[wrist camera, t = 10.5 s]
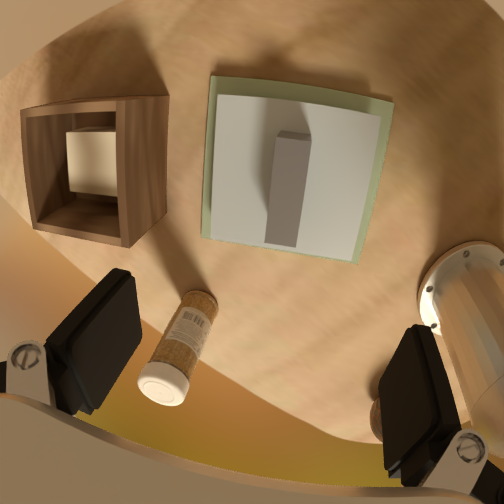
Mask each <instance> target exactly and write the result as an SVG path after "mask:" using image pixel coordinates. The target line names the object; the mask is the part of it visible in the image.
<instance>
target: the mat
mask: <svg viewBox="0 0 504 504" xmlns="http://www.w3.org/2000/svg"><path fill="white" fill-rule="evenodd" d="M218 94H226V95H241V96H254V97H265V98H274V99H283V100H292V101H299V102H306V103H313V104H320V105H326V106H332V107H338V108H343V109H349V110H354V111H359V112H364V113H369V114H373V115H378V116H381V122H380V128H379V134H378V140H377V146H376V151H375V157H374V162H373V167H372V173H371V178H370V183H369V187H368V192H367V197H366V201H365V206H364V210H363V215H362V219H361V223H360V228H359V232H358V236H357V240H356V244H355V248H354V252H353V256H352V260H351V261H348V260H342V259H336V258H330V257H323V256H317V255H311V254H304V253H298V252H292V251H285V250H279V249H272V248H266V247H259V246H253V245H247V244H241V245H247V246H253V247H259V248H265V249H271V250H277V251H283V252H289V253H295V254H300V255H306V256H312V257H318V258H324V259H330V260H335V261H341V262H347V263H353V264H358V262H359V259H360V255H361V252H362V248H363V245H364V241H365V237H366V234H367V230H368V226H369V222H370V218H371V214H372V211H373V206H374V202H375V198H376V194H377V190H378V186H379V181H380V177H381V172H382V168H383V163H384V158H385V153H386V148H387V143H388V138H389V132H390V127H391V121H392V116H393V110H394V103H392V102H388V101H384V100H380V99H376V98H372V97H367V96H363V95H358V94H354V93H349V92H344V91H339V90H334V89H328V88H322V87H316V86H310V85H304V84H297V83H289V82H282V81H273V80H264V79H253V78H241V77H226V76H211V82H210V93H209V105H208V118H207V132H206V147H205V163H204V182H203V204H202V230H201V238H206V239H210V235H211V205H212V182H213V161H214V143H215V126H216V111H217V97H218ZM211 240H214V239H211ZM217 241H221V240H217ZM223 242H227V241H223ZM229 243H234V242H229ZM235 244H240V243H235Z"/></svg>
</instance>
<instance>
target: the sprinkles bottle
mask: <svg viewBox="0 0 504 504" xmlns="http://www.w3.org/2000/svg"><path fill="white" fill-rule="evenodd" d="M217 314H218V305H217V303H216V301H215V299H214V298H213V297H212V296H210V295H209V294H207V293H205V292H202V291H198V290H194V291H190V292H187V293H186V294H185V295H184V296H183V298H182V301H181V303H180V305H179V307H178V309H177V311H176V312H175V313H174V315H173V317H172V318H171V320H170V322H169V324H168V326H167V327H166V329H165V332H164V334H163V336H162V338H161V340H160V342H159V344H158V345H157V347H156V349H155V352H154V353H153V355H152V357H151V359H150V361H149V362H148V363H147V364H146V365H145V366H144V367H143V370H142V372H141V373H140V376H139V378H138V386H139V388H140V390H141V391H142V392H143V393H144V394H145V395H146V396H147V397H148V398H150V399H151V400H153V401H155V402H157V403H159V404H162V405H167V406H176V405H179V404H181V403H182V402H183V400H184V398H185V396H186V394H187V391H188V389H189V383H190V378H191V376H192V373H193V371H194V368H195V366H196V365H197V362H198V360H199V357H200V355H201V352H202V350H203V347H204V345H205V342H206V340H207V337H208V335H209V332H210V330H211V326H212V324H213V321H214V319H215V317H216V316H217Z"/></svg>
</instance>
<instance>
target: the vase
mask: <svg viewBox="0 0 504 504" xmlns="http://www.w3.org/2000/svg"><path fill="white" fill-rule="evenodd" d="M370 425H371V429H372V431H373V433H374V435H375V436H376V437H377V438H378V439H379V440H380V441H381V442H382V443H383V436H382V423H381V411H380V400H379V397H378V398H377V399H376V400H375V401H374V403H373V405H372V407H371V411H370Z"/></svg>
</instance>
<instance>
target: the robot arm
mask: <svg viewBox="0 0 504 504" xmlns="http://www.w3.org/2000/svg"><path fill="white" fill-rule="evenodd" d="M417 305H418V312H419V314H420V317H421V320H422V322H423V323H424V325H418V324H414V325H413V326H412V327H411V328H407V330H406V331H405V333H404V335H403V337H402V339H401V341H400V343H399V345H398V347H397V349H396V351H395V353H394V355H393V357H392V359H391V361H390V363H389V364H388V366H387V368H386V370H385V372H384V374H383V375H382V377H381V379H380V382H379V387H378V390H379V400H380V411H381V423H382V436H383V453H384V468H385V470H388V473H389V478H401V484H402V486H401V487H357V486H337V485H336V486H335V485H323V484H312V483H303V482H294V481H287V480H280V479H273V478H267V477H262V476H256V475H250V474H245V473H240V472H235V471H231V470H226V469H222V468H218V467H214V466H210V465H206V464H202V463H198V462H194V461H191V460H187V459H184V458H181V457H177V456H174V455H171V454H167V453H164V452H161V451H158V450H155V449H152V448H149V447H146V446H143V445H141V444H138V443H135V442H133V441H130V440H127V439H125V438H122V437H120V436H117V435H115V434H112V433H110V432H107V431H105V430H103V429H100V428H98V427H96V426H93V425H91V424H88V423H86V422H84V421H82V420H80V419H77V418H76V417H75V414H76V413H77V411H78V410H80V411H82V412H85V413H86V414H89V415H91V414H92V412H93V411H94V409H98V408H99V407H100V406H101V405H102V403H103V401H104V400H105V398H106V396H107V395H108V393H109V391H110V390H111V388H112V387H113V385H114V383H115V382H116V380H117V378H118V377H119V375H120V374H121V372H122V370H123V369H124V367H125V366H126V364H127V362H128V361H129V359H130V357H131V356H132V355H133V353H134V351H135V349H136V348H137V346H138V345H139V344H140V342H141V339H142V328H141V322H140V315H139V307H138V300H137V292H136V283H135V278H134V277H133V276H131V273H130V272H129V271H126V270H122V269H118V268H114V269H112V270H111V271H110V272H109V273H108V274H107V275H106V276H105V277H104V278H103V279H102V280H101V281H100V282H99V283H98V284H97V285H96V286H95V287H94V288H93V289H92V290H91V292H90V293H89V294H88V295H87V296H86V297H85V298H84V299H83V300H82V301H81V302H80V303H79V304H78V305H77V306H76V307H75V309H73V310H72V312H71V313H70V314H69V315H68V316H67V317H66V318H65V319H64V320H63V321H62V323H61V324H60V325H59V326H58V327H57V328H56V329H55V330H54V331H53V332H52V334H51V335H50V336H49V337H48V338H47V339H46V343H45V344H44V345H43V346H42V344H40V343H39V342H37V341H33V340H30V341H23V342H20V343H19V344H17V345H15V346H14V347H13V348H12V349H11V351H10V352H9V354H8V357H7V361H4V362H0V504H504V473H503V472H502V471H501V470H500V469H499V468H497V467H496V466H495V465H494V464H492V463H491V462H490V461H489V460H487V458H488V454H489V453H491V454H493V455H495V456H498V457H500V458H503V459H504V253H503V252H502V251H501V250H500V249H499V248H498V247H497V246H495V245H493V244H492V243H489V242H485V241H471V242H466V243H463V244H461V245H458V246H456V247H454V248H452V249H451V250H449V251H447V252H446V253H445V254H443V255H442V256H441V257H440V258H439V259H438V260H437V261H436V262H435V263H434V264H433V265H432V266H431V267H430V269H429V270H428V272H427V273H426V275H425V276H424V279H423V281H422V283H421V285H420V289H419V292H418V300H417ZM433 333H435V334H437V335H440V336H443V339H444V342H445V344H446V347H447V349H448V352H449V355H450V358H451V360H452V363H453V366H454V369H455V372H456V375H457V378H458V381H459V384H460V387H461V390H462V393H463V396H464V400H465V403H466V406H467V410H468V413H469V417H470V420H471V423H472V427H473V429H463V430H462V428H461V424H460V420H459V416H458V412H457V408H456V405H455V401H454V397H453V394H452V390H451V387H450V383H449V380H448V377H447V373H446V370H445V368H444V365H443V362H442V359H441V356H440V353H439V350H438V347H437V344H436V341H435V338H434V335H433Z"/></svg>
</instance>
